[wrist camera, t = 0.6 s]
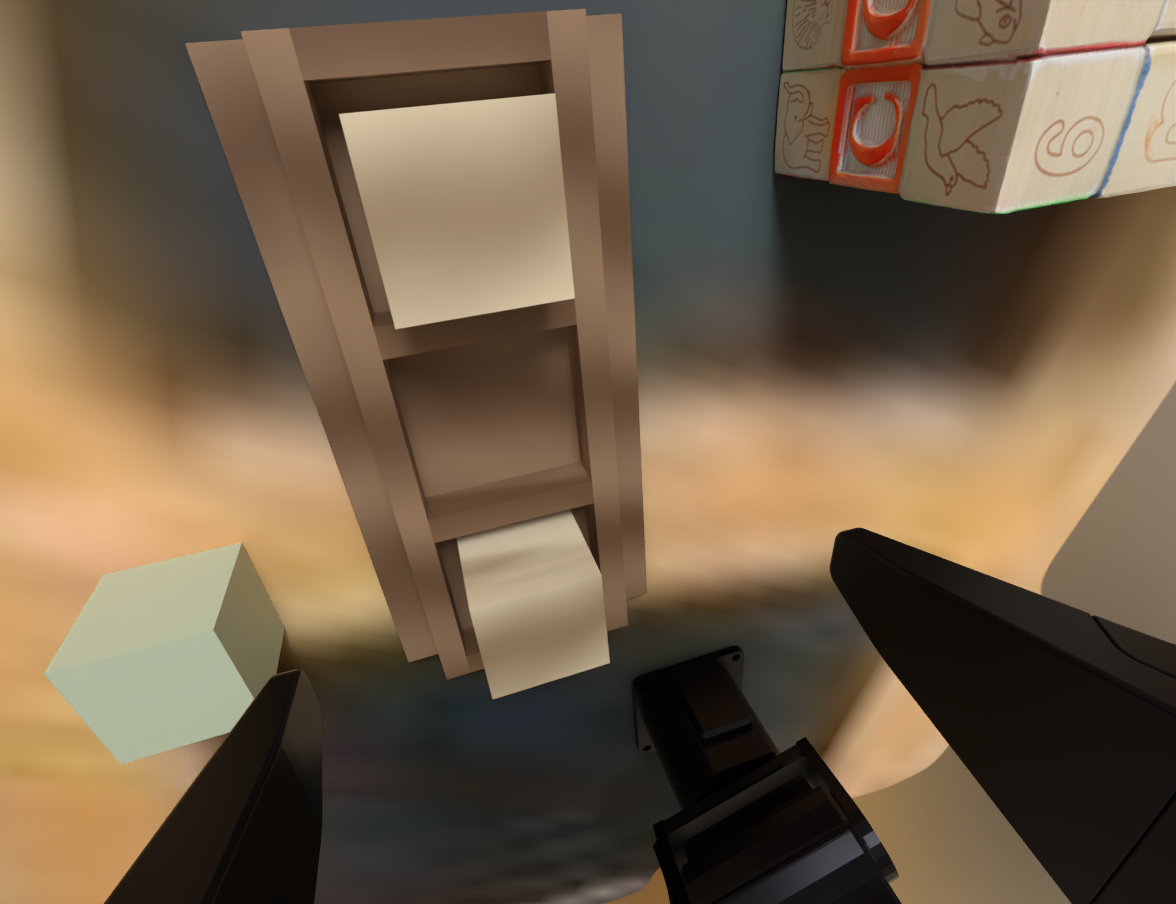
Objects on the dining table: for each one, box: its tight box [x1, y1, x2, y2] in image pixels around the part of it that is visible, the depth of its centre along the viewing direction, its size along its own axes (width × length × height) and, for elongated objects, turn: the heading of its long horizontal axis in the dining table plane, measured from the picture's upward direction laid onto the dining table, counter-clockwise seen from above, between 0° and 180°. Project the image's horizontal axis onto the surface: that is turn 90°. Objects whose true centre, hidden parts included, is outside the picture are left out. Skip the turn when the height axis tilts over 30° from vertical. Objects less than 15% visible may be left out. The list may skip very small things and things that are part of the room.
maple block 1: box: [339, 93, 575, 329], centre depth 15 cm, size 4×4×4 cm
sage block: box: [44, 542, 285, 764], centre depth 20 cm, size 4×4×4 cm
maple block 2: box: [457, 509, 610, 699], centre depth 23 cm, size 4×4×4 cm
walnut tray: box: [185, 9, 647, 679], centre depth 21 cm, size 22×11×2 cm, turn 5°
